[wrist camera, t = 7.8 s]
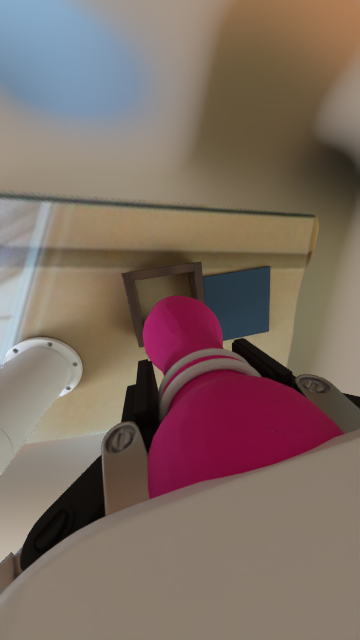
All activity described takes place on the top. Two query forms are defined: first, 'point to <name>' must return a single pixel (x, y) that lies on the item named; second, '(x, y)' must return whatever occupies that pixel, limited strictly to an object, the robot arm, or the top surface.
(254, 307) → the mat
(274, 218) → the top surface
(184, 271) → the stand
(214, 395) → the pepper mill
